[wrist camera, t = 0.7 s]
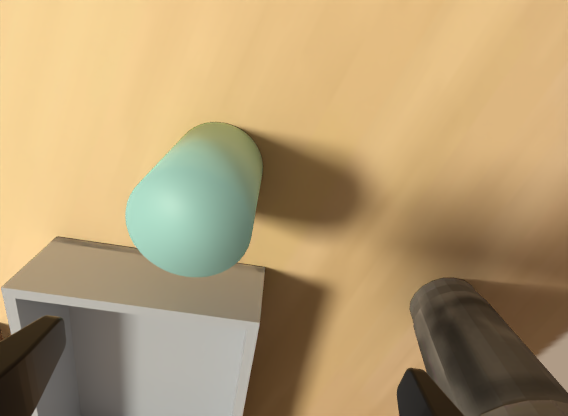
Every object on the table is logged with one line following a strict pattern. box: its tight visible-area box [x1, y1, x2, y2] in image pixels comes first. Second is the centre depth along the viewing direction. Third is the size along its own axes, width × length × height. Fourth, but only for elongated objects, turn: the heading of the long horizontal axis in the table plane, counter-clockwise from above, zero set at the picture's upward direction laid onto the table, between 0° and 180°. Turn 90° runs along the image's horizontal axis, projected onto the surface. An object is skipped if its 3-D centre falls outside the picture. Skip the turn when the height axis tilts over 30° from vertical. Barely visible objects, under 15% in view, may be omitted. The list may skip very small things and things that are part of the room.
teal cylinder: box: [126, 122, 263, 277], centre depth 18 cm, size 5×5×7 cm
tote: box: [1, 237, 265, 416], centre depth 25 cm, size 17×13×5 cm
